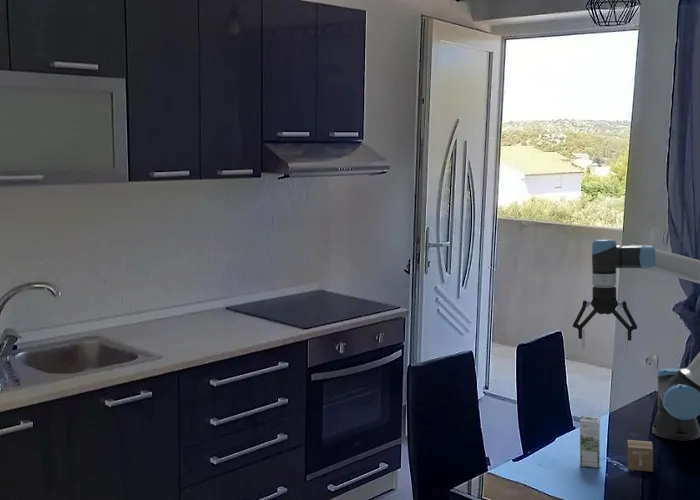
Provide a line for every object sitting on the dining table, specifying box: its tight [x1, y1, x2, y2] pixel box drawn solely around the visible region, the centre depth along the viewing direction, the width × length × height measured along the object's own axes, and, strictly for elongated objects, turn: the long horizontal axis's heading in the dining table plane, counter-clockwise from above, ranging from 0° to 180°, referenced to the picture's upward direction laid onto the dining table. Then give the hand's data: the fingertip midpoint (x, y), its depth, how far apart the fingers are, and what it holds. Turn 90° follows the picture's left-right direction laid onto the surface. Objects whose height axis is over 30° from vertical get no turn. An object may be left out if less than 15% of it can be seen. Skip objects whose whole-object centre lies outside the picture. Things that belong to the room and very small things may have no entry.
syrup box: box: [579, 416, 601, 469], centre depth 227 cm, size 6×6×14 cm
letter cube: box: [627, 439, 654, 473], centre depth 224 cm, size 7×7×7 cm
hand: (604, 349), depth 245 cm, fingers open, 13 cm apart
